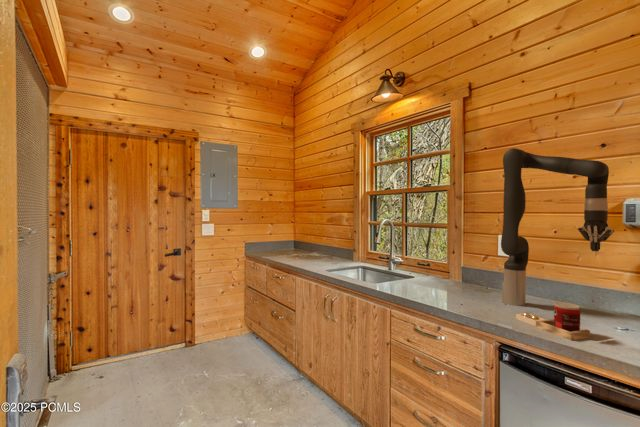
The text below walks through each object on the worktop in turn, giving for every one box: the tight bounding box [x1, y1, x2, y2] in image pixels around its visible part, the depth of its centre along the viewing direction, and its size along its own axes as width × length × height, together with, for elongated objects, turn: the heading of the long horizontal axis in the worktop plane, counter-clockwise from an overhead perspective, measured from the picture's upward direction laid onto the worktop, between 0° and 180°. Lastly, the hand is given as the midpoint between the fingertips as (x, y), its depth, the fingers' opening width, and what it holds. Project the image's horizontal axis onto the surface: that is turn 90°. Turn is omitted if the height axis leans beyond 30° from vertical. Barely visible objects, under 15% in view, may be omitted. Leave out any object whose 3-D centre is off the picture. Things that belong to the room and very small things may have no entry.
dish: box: [515, 313, 547, 327], centre depth 136 cm, size 9×6×2 cm, turn 17°
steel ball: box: [523, 311, 532, 319], centre depth 138 cm, size 3×3×3 cm
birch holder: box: [535, 318, 591, 341], centre depth 124 cm, size 13×9×3 cm
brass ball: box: [531, 314, 540, 320], centre depth 134 cm, size 3×3×3 cm
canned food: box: [553, 301, 581, 332], centre depth 123 cm, size 8×8×11 cm
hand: (595, 251), depth 138 cm, fingers closed
